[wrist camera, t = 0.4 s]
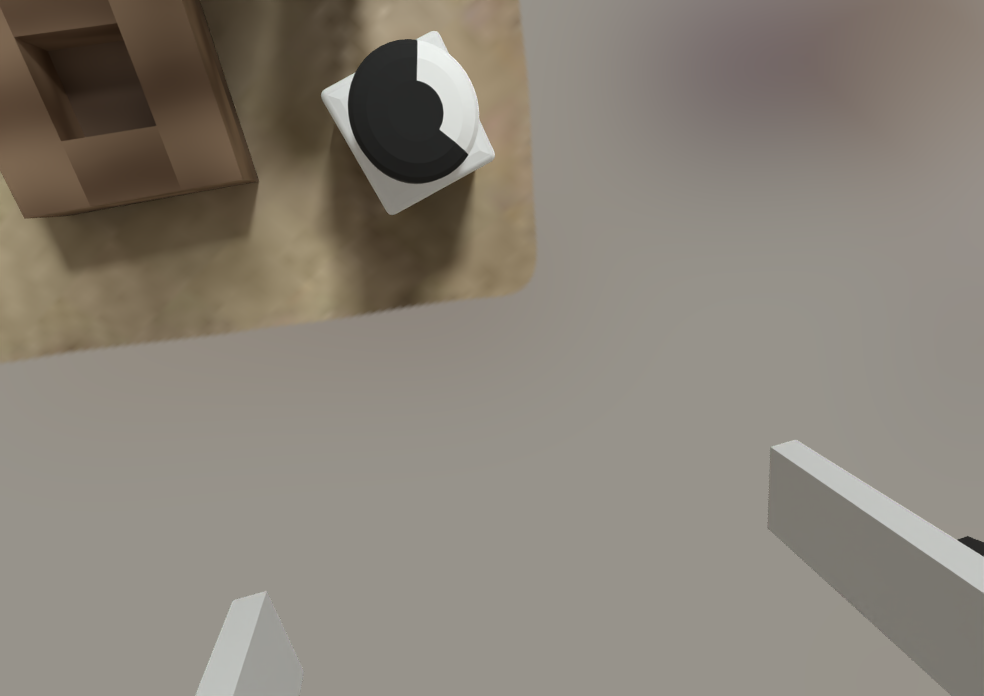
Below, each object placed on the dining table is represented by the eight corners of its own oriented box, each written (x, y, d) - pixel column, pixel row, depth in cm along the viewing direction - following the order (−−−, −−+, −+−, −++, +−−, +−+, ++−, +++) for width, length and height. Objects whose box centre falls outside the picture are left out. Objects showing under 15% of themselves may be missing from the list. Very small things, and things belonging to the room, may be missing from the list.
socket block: (-41, -7, 26) (-104, -36, 22) (187, -35, 27) (159, -67, 24) (65, 215, 30) (24, 218, 27) (258, 181, 31) (242, 179, 28)
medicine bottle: (391, 213, 34) (388, 222, 22) (334, 113, 31) (298, 67, 20) (478, 165, 34) (519, 150, 22) (428, 62, 31) (446, -13, 20)
